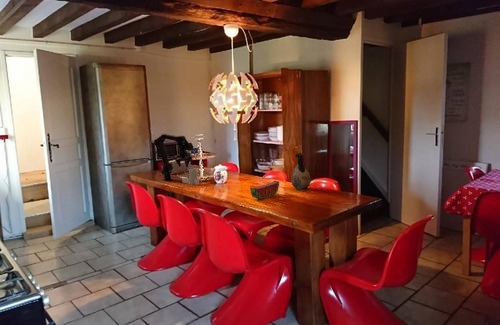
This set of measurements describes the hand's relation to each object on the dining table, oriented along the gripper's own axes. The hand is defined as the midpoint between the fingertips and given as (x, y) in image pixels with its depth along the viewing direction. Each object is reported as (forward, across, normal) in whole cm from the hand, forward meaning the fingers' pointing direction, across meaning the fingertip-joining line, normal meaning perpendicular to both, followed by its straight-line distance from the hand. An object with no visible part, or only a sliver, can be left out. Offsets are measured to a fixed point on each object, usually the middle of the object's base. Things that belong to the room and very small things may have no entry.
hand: (183, 167), depth 334 cm
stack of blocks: (+13, +37, -25) cm, 47 cm away
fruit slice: (+13, -94, +10) cm, 96 cm away
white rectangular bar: (+13, -12, +4) cm, 18 cm away
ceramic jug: (+13, -108, -20) cm, 111 cm away
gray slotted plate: (+13, -15, +4) cm, 20 cm away
